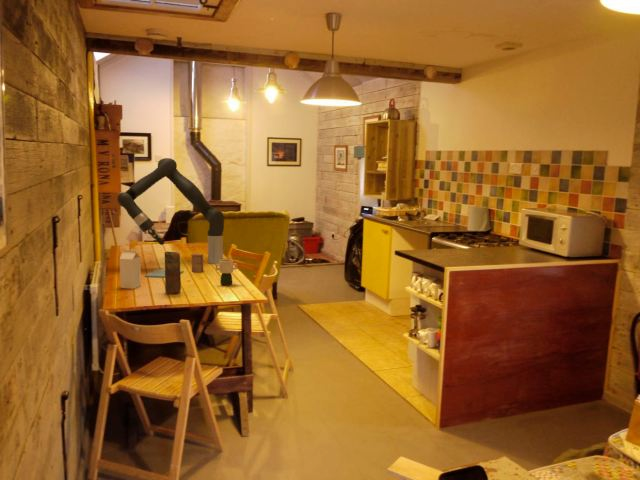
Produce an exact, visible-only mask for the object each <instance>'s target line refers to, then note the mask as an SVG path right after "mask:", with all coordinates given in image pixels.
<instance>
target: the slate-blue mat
mask: <svg viewBox="0 0 640 480" xmlns="http://www.w3.org/2000/svg"><path fill="white" fill-rule="evenodd" d="M183 273H185V271H184V270H180V275H181V274H183ZM144 278H157V279H159V278H161V279H165V269H154V271H151V272H148V273H146V274H144Z"/></svg>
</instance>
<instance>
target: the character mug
mask: <svg viewBox="0 0 640 480" xmlns="http://www.w3.org/2000/svg"><path fill="white" fill-rule="evenodd" d="M237 269H238V264H237V263H234V260H233V259H232V258H231V259H230V258H223V259H222V260H219V264H215V271H219V273H221V276H220V285H223V286H230V285H232V284H233V276H232V273H234V271H235V270H237Z"/></svg>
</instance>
